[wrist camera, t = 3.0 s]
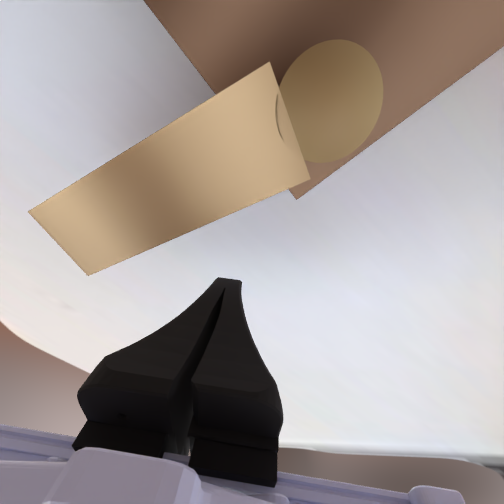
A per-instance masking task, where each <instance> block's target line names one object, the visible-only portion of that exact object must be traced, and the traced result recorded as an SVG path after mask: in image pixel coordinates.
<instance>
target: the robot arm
mask: <svg viewBox="0 0 504 504" xmlns="http://www.w3.org/2000/svg"><path fill="white" fill-rule="evenodd" d="M241 287H242V282H241V281H240V280H234V279H226V278H219V277H218V278H217V279H216V280H215V281H214V282H213V283H212V284H211V286H210V287H209V288H208V289H207V290H206V291H205V292H204V293H203V294H202V295H201V296H200V297H199V298H198V299H197V300H196V301H195V302H194V303H193V304H192V305H190V306H189V307H188V308H187V309H186V310H185V311H184V312H182V313H181V314H180V315H179V316H177V317H176V318H175V319H173V320H172V321H170V322H169V323H168V324H166V325H165V326H163V327H162V328H160V329H159V330H157V331H155V332H154V333H152V334H150V335H148V336H147V337H145V338H143V339H141V340H139V341H138V342H136V343H134V344H132V345H130V346H128V347H125V348H123V349H121V350H119V351H116V352H114V353H112V354H110V355H107V356H105V357H104V359H103V360H102V361H101V362H100V363H99V364H98V365H97V366H96V368H95V369H94V370H93V372H92V373H91V374H90V376H89V377H88V378H87V380H86V381H85V382H84V384H83V385H82V386H81V388H80V389H79V391H78V394H77V398H78V401H79V404H80V406H81V408H82V410H83V412H84V414H85V415H86V418H87V422H86V424H85V425H84V427H83V428H82V430H81V431H80V433H79V434H78V436H77V437H73V436H68V435H62V434H56V433H50V432H44V431H38V430H32V429H27V428H21V427H15V426H9V425H3V424H0V504H466V503H465V501H464V499H463V497H462V495H461V493H459V492H458V491H456V490H450V489H443V488H438V487H431V486H423V485H421V486H416V487H413V488H412V489H411V490H410V491H409V493H408V494H407V493H401V492H395V491H390V490H384V489H378V488H372V487H366V486H360V485H354V484H348V483H342V482H337V481H331V480H325V479H319V478H313V477H307V476H302V475H296V474H290V473H284V472H278V471H277V452H278V436H279V433H280V430H281V427H282V424H283V410H282V404H281V399H280V396H279V392H278V388H277V385H276V382H275V380H274V379H273V377H272V376H271V374H270V372H269V371H268V369H267V367H266V365H265V364H264V362H263V360H262V358H261V356H260V354H259V352H258V350H257V348H256V345H255V343H254V341H253V338H252V336H251V333H250V330H249V328H248V324H247V321H246V317H245V314H244V309H243V304H242V297H241ZM189 449H190V453H191V456H188V453H189Z"/></svg>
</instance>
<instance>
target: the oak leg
mask: <svg viewBox="0 0 504 504" xmlns="http://www.w3.org/2000/svg"><path fill="white" fill-rule="evenodd" d="M382 102H383V80H382V76H381V72H380V69H379V67H378V64H377V63H376V61H375V59H374V58H373V57H372V55H371V54H370V53H369V52H368V51H367V50H366V49H365V48H363V47H362V46H360V45H358V44H357V43H354V42H351V41H348V40H342V39H338V40H328V41H324V42H321V43H318V44H316V45H314V46H312V47H310V48H309V49H308V50H306V51H305V52H303V53H302V54H301V55H300V56H299V57H298V58H297V59H296V60H295V61H294V62H293V63H292V65H291V66H290V67H289V69H288V70H287V72H286V74H285V76H284V77H283V79H282V82H281V84H280V87H278V84H277V81H276V78H275V75H274V73H273V70H272V67H271V64H270V62H268V63H266V64H265V65H263V66H262V67H260V68H258V69H257V70H255V71H254V72H252V73H250V74H249V75H247V76H245V77H244V78H242V79H241V80H239V81H237V82H236V83H234V84H233V85H231V86H229V87H228V88H226V89H225V90H223V91H221V92H220V93H218V94H216V95H215V96H213V97H212V98H210V99H208V100H207V101H205V102H204V103H202V104H200V105H199V106H197V107H196V108H194V109H192V110H191V111H189V112H187V113H186V114H184V115H183V116H181V117H179V118H178V119H176V120H175V121H173V122H171V123H170V124H168V125H167V126H165V127H163V128H162V129H160V130H158V131H157V132H155V133H154V134H152V135H150V136H149V137H147V138H146V139H144V140H142V141H141V142H139V143H138V144H136V145H134V146H133V147H131V148H129V149H128V150H126V151H125V152H123V153H121V154H120V155H118V156H117V157H115V158H113V159H112V160H110V161H109V162H107V163H105V164H104V165H102V166H100V167H99V168H97V169H96V170H94V171H92V172H91V173H89V174H88V175H86V176H84V177H83V178H81V179H80V180H78V181H76V182H75V183H73V184H71V185H70V186H68V187H67V188H65V189H63V190H62V191H60V192H59V193H57V194H55V195H54V196H52V197H51V198H49V199H47V200H46V201H44V202H42V203H41V204H39V205H38V206H36V207H34V208H33V209H31V210H30V211H28V213H29V214H30V215H31V216H32V217H33V218H34V219H35V220H36V221H37V222H38V223H39V224H40V225H41V226H42V228H43V229H44V230H45V231H46V232H47V233H48V234H49V235H50V236H51V237H52V238H53V239H54V240H55V241H56V242H57V244H58V245H59V246H60V247H61V248H62V249H63V250H64V251H65V252H66V253H67V254H68V255H69V256H70V257H71V258H72V259H73V261H74V262H75V263H76V264H77V265H78V266H79V267H80V268H81V269H82V270H83V271H84V272H85V273H86V274H87V275H88V276H89V275H92V274H94V273H96V272H99V271H101V270H103V269H105V268H108V267H110V266H112V265H115V264H117V263H119V262H121V261H124V260H126V259H128V258H131V257H133V256H135V255H138V254H140V253H142V252H144V251H147V250H149V249H151V248H154V247H156V246H158V245H160V244H163V243H165V242H167V241H170V240H172V239H174V238H177V237H179V236H181V235H183V234H186V233H188V232H190V231H193V230H195V229H197V228H200V227H202V226H204V225H206V224H209V223H211V222H213V221H216V220H218V219H220V218H222V217H225V216H227V215H229V214H232V213H234V212H236V211H239V210H241V209H243V208H245V207H248V206H250V205H252V204H255V203H257V202H259V201H262V200H264V199H266V198H268V197H271V196H273V195H275V194H278V193H280V192H282V191H284V190H287V189H289V188H291V187H294V186H296V185H298V184H301V183H303V182H305V181H307V180H310V179H311V178H310V176H309V173H308V170H307V167H306V164H305V161H304V160H306V161H309V162H315V163H326V162H332V161H336V160H338V159H341V158H343V157H345V156H347V155H349V154H350V153H352V152H353V151H354V150H356V149H357V148H358V147H359V146H360V145H361V144H362V143H363V142H364V141H365V140H366V138H367V137H368V136H369V135H370V133H371V131H372V130H373V128H374V126H375V124H376V122H377V120H378V117H379V115H380V111H381V107H382Z"/></svg>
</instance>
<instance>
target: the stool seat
mask: <svg viewBox="0 0 504 504" xmlns="http://www.w3.org/2000/svg"><path fill="white" fill-rule="evenodd" d="M144 1H145V3H146V4H147V5H148V7H149V8H150V9H151V11H152V12H153V13H154V14H155V16H156V17H157V18H158V20H159V21H160V22H161V24H162V25H163V26H164V28H165V29H166V30H167V31H168V33H169V34H170V35H171V37H172V38H173V39H174V41H175V42H176V43H177V44H178V46H179V47H180V48H181V50H182V51H183V52H184V54H185V55H186V56H187V58H188V59H189V60H190V61H191V63H192V64H193V65H194V67H195V68H196V69H197V71H198V72H199V73H200V74H201V76H202V77H203V78H204V80H205V81H206V82H207V84H208V85H209V86H210V88H211V89H212V90H213V91H214V93H215V94H218V93H220V92H221V91H223V90H225V89H226V88H228V87H229V86H231V85H233V84H234V83H236V82H237V81H239V80H241V79H242V78H244V77H245V76H247V75H249V74H250V73H252V72H254V71H255V70H257V69H258V68H260V67H262V66H263V65H265V64H266V63H268V62H270V64H271V67H272V70H273V73H274V75H275V78H276V81H277V84H278V87H280V84H281V82H282V79H283V77H284V76H285V74H286V72H287V70H288V69H289V67H290V66H291V65H292V63H293V62H294V61H295V60H296V59H297V58H298V57H299V56H300V55H301V54H302V53H303V52H305V51H306V50H308V49H309V48H310V47H312V46H314V45H316V44H318V43H321V42H324V41H328V40H338V39H342V40H348V41H351V42H354V43H357V44H358V45H360V46H362V47H363V48H365V49H366V50H367V51H368V52H369V53H370V54H371V55H372V57H373V58H374V59H375V61H376V63H377V64H378V67H379V69H380V72H381V76H382V80H383V102H382V107H381V111H380V115H379V117H378V120H377V122H376V124H375V126H374V128H373V130H372V131H371V133H370V135H369V136H368V137H367V138H366V140H365V141H364V142H363V143H362V144H361V145H360V146H359V147H358V148H357V149H356V150H354V151H353V152H352V153H350V154H349V155H347V156H345V157H343V158H341V159H338V160H336V161H332V162H326V163H315V162H309V161H306V160H304V161H305V164H306V167H307V170H308V173H309V176H310V178H311V179H310V180H307V181H305V182H303V183H301V184H298V185H296V186H294V187H291V188H289V191H290V192H291V193H292V194H293V196H294V197H295V198H296V200H297V199H298V198H300V197H301V196H303V195H304V194H305V193H307V192H308V191H309V190H311V189H312V188H313V187H315V186H316V185H317V184H319V183H320V182H321V181H323V180H324V179H325V178H327V177H328V176H329V175H331V174H332V173H334V172H335V171H336V170H338V169H339V168H340V167H342V166H343V165H344V164H346V163H347V162H348V161H350V160H351V159H352V158H354V157H355V156H356V155H358V154H359V153H360V152H362V151H363V150H365V149H366V148H367V147H369V146H370V145H371V144H373V143H374V142H375V141H377V140H378V139H379V138H381V137H382V136H383V135H385V134H386V133H387V132H389V131H390V130H391V129H393V128H394V127H396V126H397V125H398V124H400V123H401V122H402V121H404V120H405V119H406V118H408V117H409V116H410V115H412V114H413V113H414V112H416V111H417V110H418V109H420V108H421V107H422V106H424V105H425V104H427V103H428V102H429V101H431V100H432V99H433V98H435V97H436V96H437V95H439V94H440V93H441V92H443V91H444V90H445V89H447V88H448V87H449V86H451V85H452V84H453V83H455V82H456V81H458V80H459V79H460V78H462V77H463V76H464V75H466V74H467V73H468V72H470V71H471V70H472V69H474V68H475V67H476V66H478V65H479V64H480V63H482V62H483V61H484V60H486V59H487V58H489V57H490V56H491V55H493V54H494V53H495V52H497V51H498V50H499V49H501V48H502V47H503V46H504V0H144Z"/></svg>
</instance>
